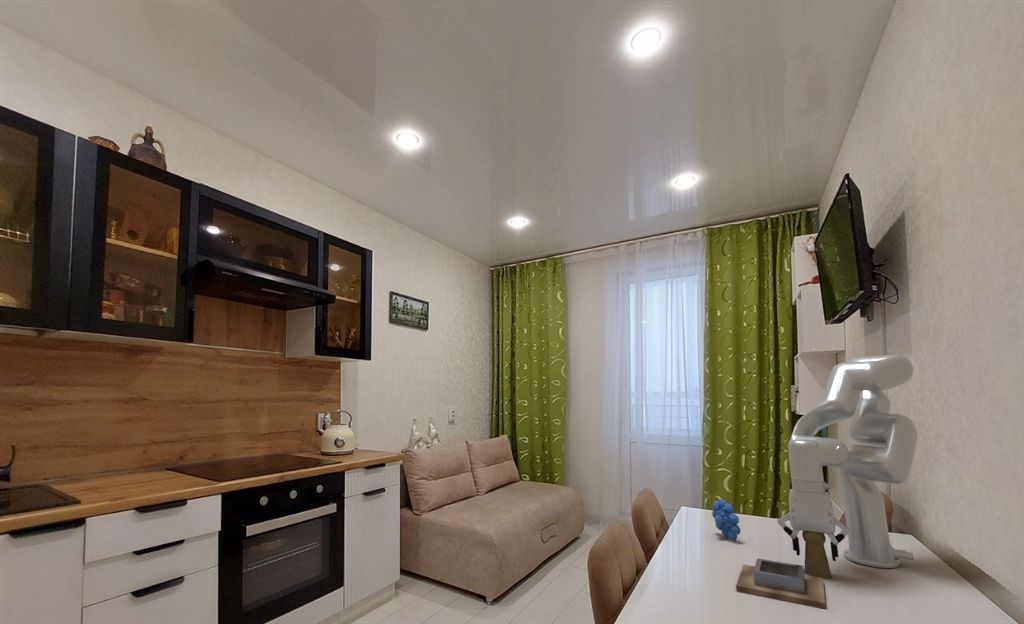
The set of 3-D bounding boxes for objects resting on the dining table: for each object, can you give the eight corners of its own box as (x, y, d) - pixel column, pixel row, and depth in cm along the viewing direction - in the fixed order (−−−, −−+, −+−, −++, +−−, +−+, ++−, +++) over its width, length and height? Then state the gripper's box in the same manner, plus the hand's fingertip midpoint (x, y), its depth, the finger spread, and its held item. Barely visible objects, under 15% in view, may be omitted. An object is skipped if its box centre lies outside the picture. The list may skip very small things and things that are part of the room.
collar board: (823, 583, 115) (822, 577, 116) (825, 608, 102) (825, 603, 102) (743, 569, 125) (743, 564, 125) (736, 591, 111) (735, 585, 112)
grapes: (704, 534, 155) (701, 496, 157) (721, 532, 156) (718, 495, 158) (729, 545, 143) (725, 505, 145) (746, 543, 145) (743, 503, 147)
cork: (832, 580, 117) (827, 534, 119) (804, 575, 120) (799, 530, 122) (831, 572, 122) (826, 528, 124) (804, 568, 125) (799, 525, 127)
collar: (804, 578, 115) (803, 565, 116) (804, 594, 107) (803, 580, 107) (758, 570, 121) (757, 558, 121) (754, 584, 112) (753, 571, 113)
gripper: (846, 487, 123) (855, 558, 120) (772, 481, 132) (778, 547, 129) (848, 492, 117) (858, 567, 114) (770, 485, 126) (777, 555, 123)
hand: (815, 556), depth 122 cm, fingers open, 7 cm apart
